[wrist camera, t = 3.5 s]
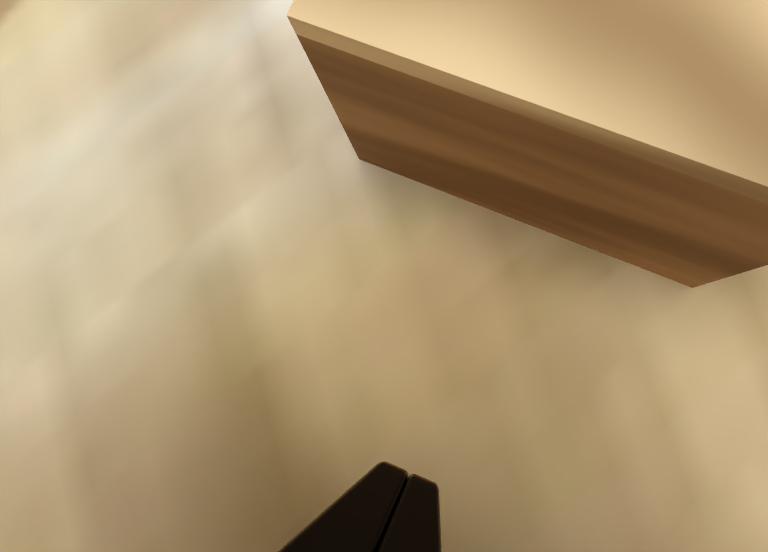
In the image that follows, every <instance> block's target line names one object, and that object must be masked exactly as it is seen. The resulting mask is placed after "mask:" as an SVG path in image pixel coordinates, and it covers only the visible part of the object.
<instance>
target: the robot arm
mask: <svg viewBox="0 0 768 552" xmlns="http://www.w3.org/2000/svg"><path fill="white" fill-rule="evenodd" d="M278 552H442V551H441V528H440V505H439V489H438V486H437V484H436V483H434V482H432V481H430V480H427V479H425V478H423V477H420V476H418V475H416V474H412V475H410V476H409V477H408V473H407V471H406V470H404V469H402V468H399V467H397V466H395V465H392V464H390V463H388V462H380V463H379V464H377V465H376V466H375V467H374V468H372V469H371V470H370V471H369V472H368V473H367V474H366V475H364V476H363V477H362V478H361V479H360V480H359V481H358V482H357V483H355V484H354V485H353V486H352V487H351V488H350V489H349V490H347V491H346V492H345V493H344V494H343V495H342V496H341V497H340V498H338V499H337V500H336V501H335V502H334V503H333V504H332V505H330V506H329V507H328V508H327V509H326V510H325V511H324V512H323V513H321V514H320V515H319V516H318V517H317V518H316V519H315V520H313V521H312V522H311V523H310V524H309V525H308V526H307V527H306V528H304V529H303V530H302V531H301V532H300V533H299V534H298V535H296V536H295V537H294V538H293V539H292V540H291V541H290V542H288V543H287V544H286V545H285V546H284V547H283V548H282V549H281V550H279V551H278Z"/></svg>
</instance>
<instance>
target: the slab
mask: <svg viewBox="0 0 768 552" xmlns="http://www.w3.org/2000/svg"><path fill="white" fill-rule="evenodd" d="M287 17H288V19H289V21H290V23H291V25H292V27H293V29H294V31H295V33H296V35H297V37H298V39H299V40H300V42H301V44H302V46H303V48H304V50H305V52H306V54H307V56H308V58H309V60H310V62H311V64H312V66H313V68H314V70H315V72H316V74H317V76H318V78H319V80H320V82H321V84H322V86H323V88H324V90H325V92H326V94H327V96H328V98H329V100H330V102H331V104H332V106H333V108H334V110H335V112H336V114H337V116H338V118H339V120H340V122H341V124H342V126H343V128H344V130H345V132H346V134H347V136H348V138H349V140H350V141H351V143H352V145H353V147H354V149H355V151H356V153H357V155H358V157H359V159H361V160H363V161H366V162H368V163H371V164H374V165H376V166H379V167H381V168H384V169H387V170H389V171H392V172H394V173H397V174H400V175H402V176H405V177H407V178H410V179H413V180H415V181H418V182H420V183H423V184H425V185H428V186H431V187H433V188H436V189H438V190H441V191H444V192H446V193H449V194H451V195H454V196H457V197H459V198H462V199H464V200H467V201H470V202H472V203H475V204H477V205H480V206H482V207H485V208H488V209H490V210H493V211H495V212H498V213H501V214H503V215H506V216H508V217H511V218H514V219H516V220H519V221H521V222H524V223H527V224H529V225H532V226H534V227H537V228H540V229H542V230H545V231H547V232H550V233H552V234H555V235H558V236H560V237H563V238H565V239H568V240H571V241H573V242H576V243H578V244H581V245H584V246H586V247H589V248H591V249H594V250H597V251H599V252H602V253H604V254H607V255H609V256H612V257H615V258H617V259H620V260H622V261H625V262H628V263H630V264H633V265H635V266H638V267H641V268H643V269H646V270H648V271H651V272H654V273H656V274H659V275H661V276H664V277H666V278H669V279H672V280H674V281H677V282H679V283H682V284H685V285H687V286H690V287H692V288H693V287H696V286H699V285H703V284H706V283H709V282H712V281H716V280H719V279H722V278H725V277H729V276H732V275H735V274H739V273H742V272H745V271H748V270H752V269H755V268H758V267H762V266H765V265H768V0H294V1H293V3H292V5H291V7H290V10H289V12H288V14H287Z"/></svg>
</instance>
